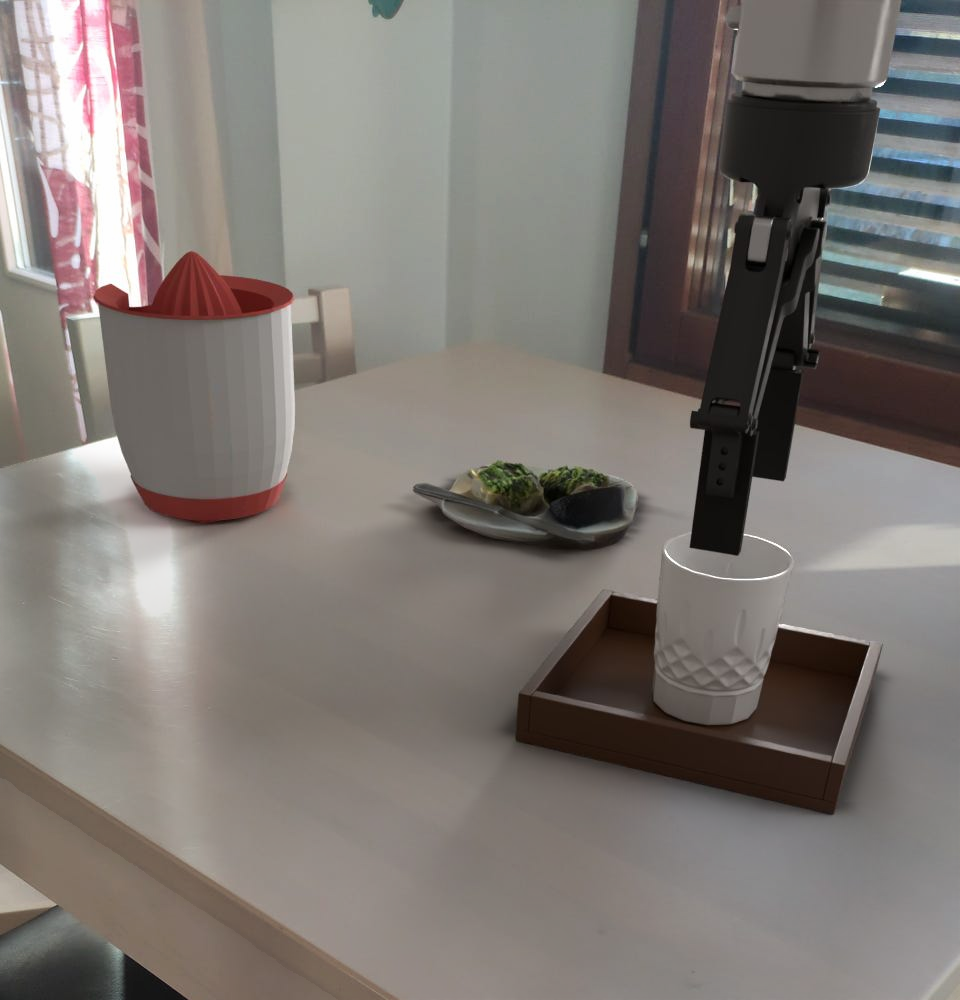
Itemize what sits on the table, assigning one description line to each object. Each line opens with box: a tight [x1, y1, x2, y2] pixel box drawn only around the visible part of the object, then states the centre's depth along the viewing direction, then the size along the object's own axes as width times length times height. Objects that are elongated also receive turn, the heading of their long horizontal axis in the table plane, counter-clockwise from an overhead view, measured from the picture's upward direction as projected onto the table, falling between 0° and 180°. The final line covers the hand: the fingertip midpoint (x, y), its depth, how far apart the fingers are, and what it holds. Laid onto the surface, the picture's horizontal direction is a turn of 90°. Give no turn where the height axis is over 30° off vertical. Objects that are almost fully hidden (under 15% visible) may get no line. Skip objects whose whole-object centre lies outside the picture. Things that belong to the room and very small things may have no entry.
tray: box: [514, 588, 884, 815], centre depth 81 cm, size 20×18×3 cm
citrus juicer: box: [93, 250, 296, 525], centre depth 104 cm, size 16×17×20 cm
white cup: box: [653, 531, 795, 725], centre depth 79 cm, size 8×8×10 cm
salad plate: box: [412, 460, 639, 551], centre depth 109 cm, size 19×18×5 cm
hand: (740, 511), depth 74 cm, fingers open, 13 cm apart
